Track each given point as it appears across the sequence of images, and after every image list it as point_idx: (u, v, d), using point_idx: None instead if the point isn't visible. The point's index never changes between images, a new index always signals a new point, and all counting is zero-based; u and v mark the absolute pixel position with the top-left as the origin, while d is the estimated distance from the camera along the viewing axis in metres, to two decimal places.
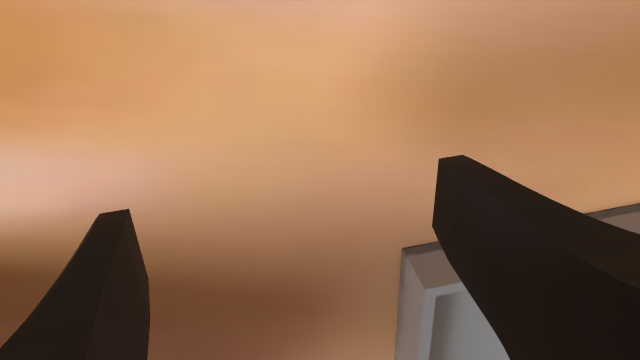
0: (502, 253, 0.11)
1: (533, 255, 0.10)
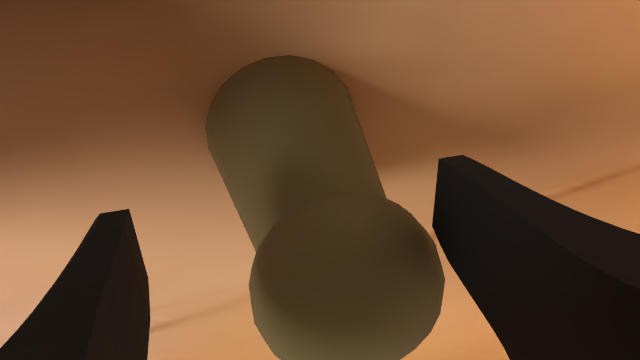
0: (502, 253, 0.11)
1: (533, 255, 0.10)
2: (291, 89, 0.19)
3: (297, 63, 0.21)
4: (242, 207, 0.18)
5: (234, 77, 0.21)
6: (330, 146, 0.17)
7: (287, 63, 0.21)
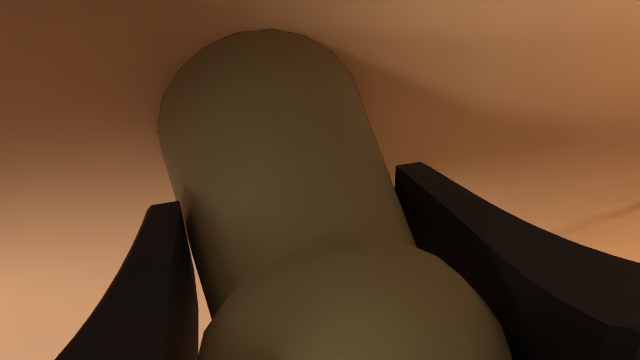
0: (452, 263, 0.11)
1: (479, 266, 0.10)
2: (271, 74, 0.13)
3: (281, 39, 0.15)
4: (194, 251, 0.12)
5: (193, 60, 0.15)
6: (327, 160, 0.11)
7: (267, 39, 0.15)
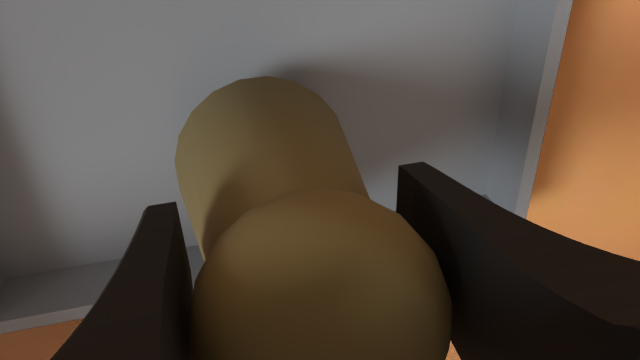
0: (455, 262, 0.11)
1: (482, 265, 0.10)
2: (265, 103, 0.17)
3: (275, 82, 0.18)
4: (199, 234, 0.14)
5: (204, 101, 0.18)
6: (304, 153, 0.14)
7: (263, 82, 0.18)
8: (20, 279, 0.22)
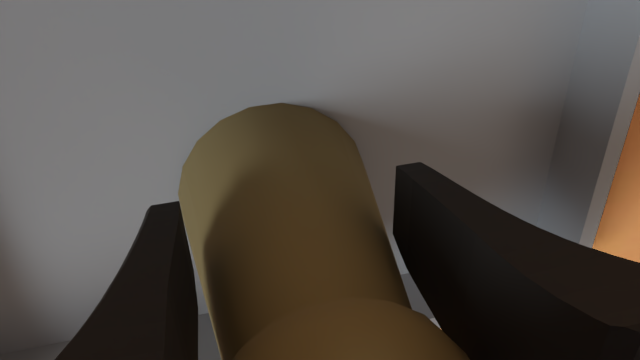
0: (452, 263, 0.11)
1: (479, 266, 0.10)
2: (280, 145, 0.15)
3: (290, 112, 0.16)
4: (209, 308, 0.13)
5: (211, 131, 0.17)
6: (328, 225, 0.12)
7: (277, 112, 0.16)
8: None
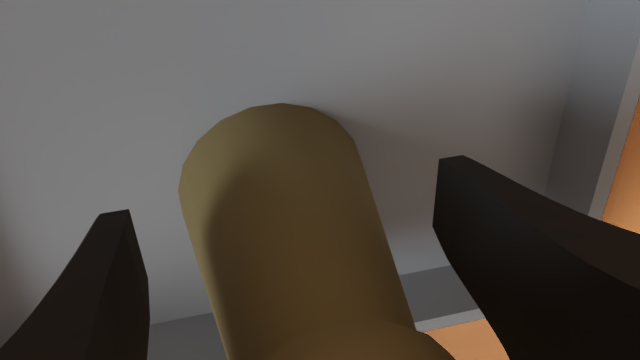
0: (502, 253, 0.11)
1: (533, 255, 0.10)
2: (283, 152, 0.15)
3: (291, 113, 0.17)
4: (217, 317, 0.13)
5: (212, 131, 0.17)
6: (333, 241, 0.13)
7: (278, 114, 0.16)
8: None
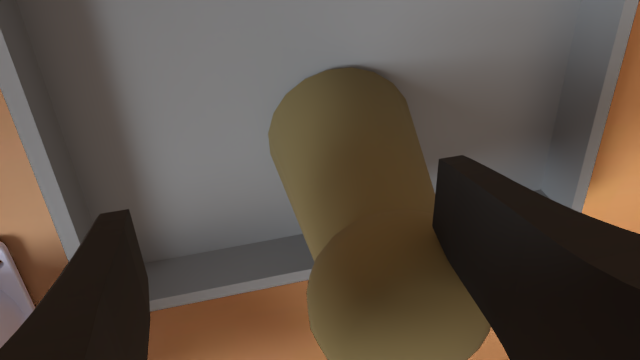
0: (502, 253, 0.11)
1: (533, 255, 0.10)
2: (353, 101, 0.20)
3: (358, 75, 0.21)
4: (301, 215, 0.19)
5: (297, 87, 0.22)
6: (388, 162, 0.18)
7: (349, 75, 0.21)
8: None
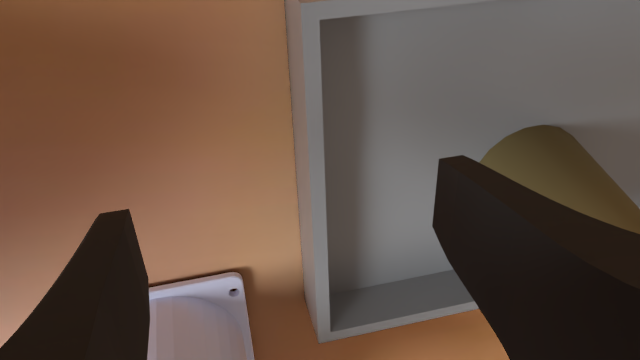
0: (502, 253, 0.11)
1: (533, 255, 0.10)
2: (564, 155, 0.24)
3: (553, 131, 0.26)
4: None
5: (501, 143, 0.26)
6: (623, 206, 0.22)
7: (546, 132, 0.26)
8: (330, 297, 0.28)
